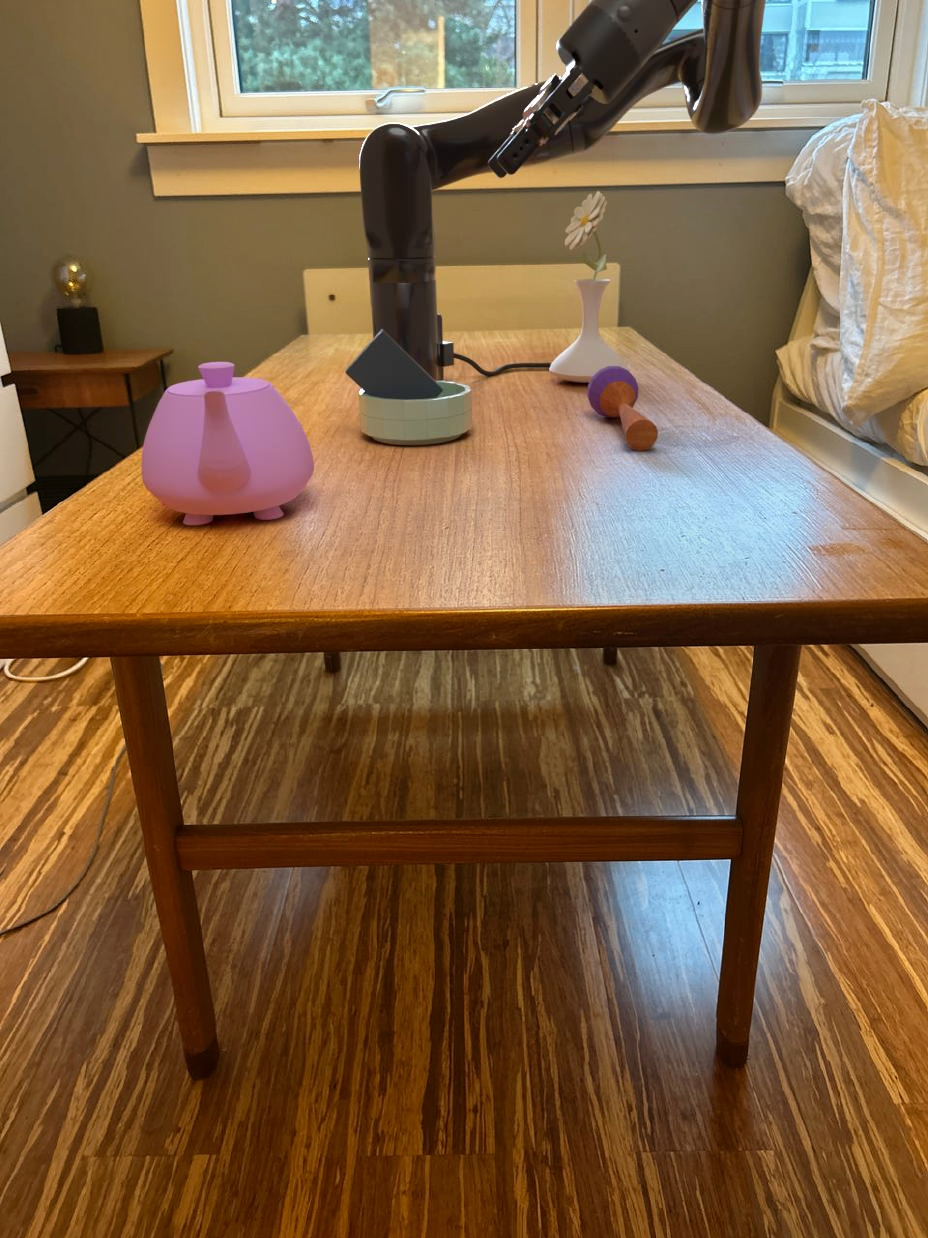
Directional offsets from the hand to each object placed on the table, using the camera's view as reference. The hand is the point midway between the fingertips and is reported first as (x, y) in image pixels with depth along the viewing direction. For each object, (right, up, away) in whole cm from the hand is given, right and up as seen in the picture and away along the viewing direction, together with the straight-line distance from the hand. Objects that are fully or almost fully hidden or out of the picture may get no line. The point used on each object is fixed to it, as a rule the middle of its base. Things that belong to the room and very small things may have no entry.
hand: (498, 169), depth 91 cm
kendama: (+15, -24, +12) cm, 30 cm away
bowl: (-9, -24, +11) cm, 28 cm away
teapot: (-23, -36, -13) cm, 45 cm away
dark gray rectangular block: (-8, -22, +10) cm, 25 cm away
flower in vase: (+15, -11, +40) cm, 44 cm away
